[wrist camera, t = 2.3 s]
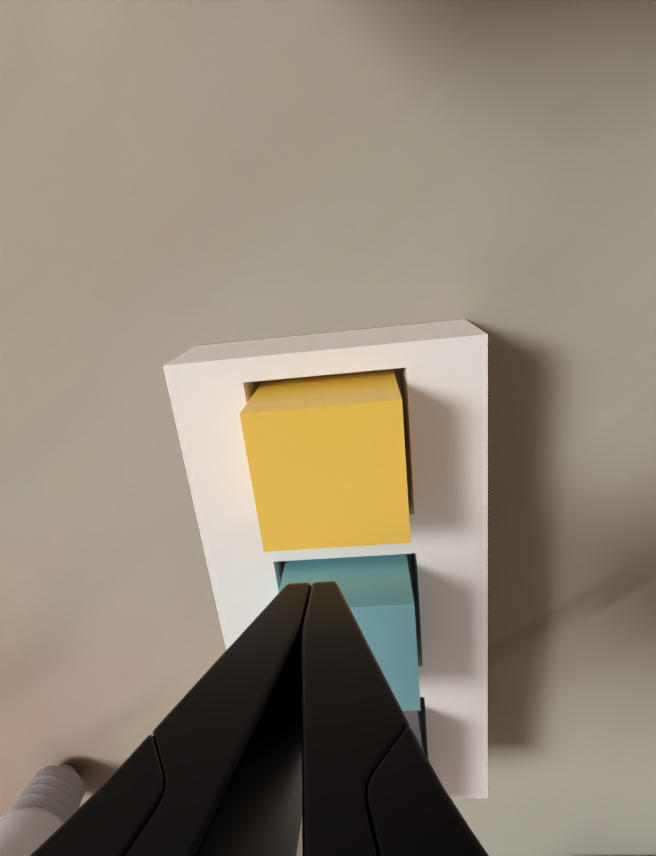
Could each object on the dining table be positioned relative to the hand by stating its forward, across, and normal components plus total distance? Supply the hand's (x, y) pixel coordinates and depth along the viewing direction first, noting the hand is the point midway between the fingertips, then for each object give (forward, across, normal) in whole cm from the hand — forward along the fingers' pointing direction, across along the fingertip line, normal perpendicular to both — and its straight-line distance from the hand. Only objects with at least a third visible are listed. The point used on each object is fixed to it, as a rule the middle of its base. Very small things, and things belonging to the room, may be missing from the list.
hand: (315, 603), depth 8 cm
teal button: (+8, 0, +6) cm, 10 cm away
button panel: (+10, 0, +6) cm, 11 cm away
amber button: (+8, 0, 0) cm, 8 cm away
